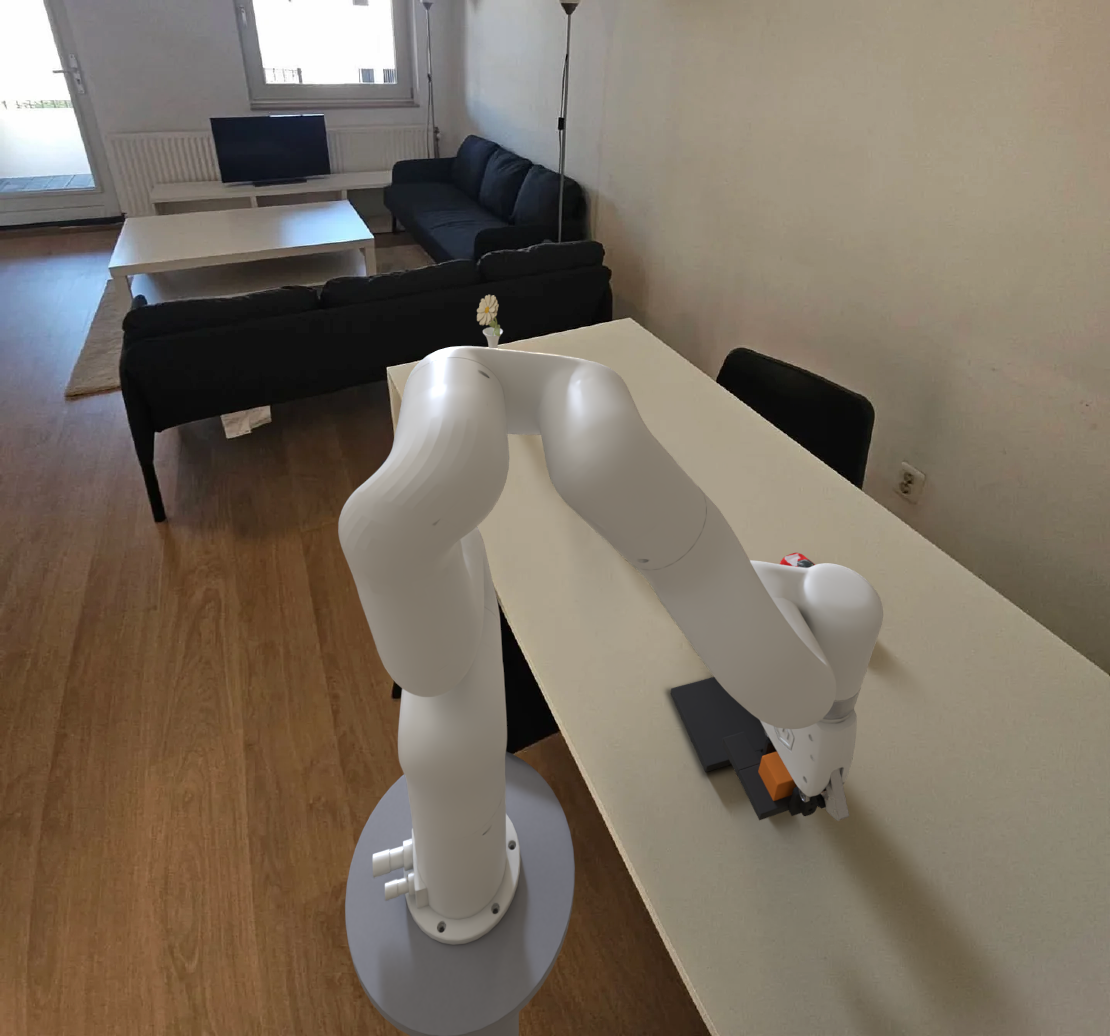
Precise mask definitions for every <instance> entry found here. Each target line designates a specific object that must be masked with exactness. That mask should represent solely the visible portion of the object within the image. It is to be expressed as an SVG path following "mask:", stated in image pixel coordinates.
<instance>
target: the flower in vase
mask: <svg viewBox="0 0 1110 1036" xmlns="http://www.w3.org/2000/svg"><path fill="white" fill-rule="evenodd" d="M498 310H499V303H498V299H497V297H496V296H495V294H494V295H491V294H488V295H485V296H484V298H481V299H480V302H479V307H478V308H477V309H476V312H477V315H476V321H477V322H479V325H480V326H484V325H485V326H489V327H486V328H484V329H483V330H482V334H483V335H484V336H485V337H486V340H487V344H488V348H497V349H498V348H499V347H498V345H499V339H500V337H501V335H502V334H503V332H504V330H503V329H502V328H501V325H500V324H498V319H497V315H498Z"/></svg>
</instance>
